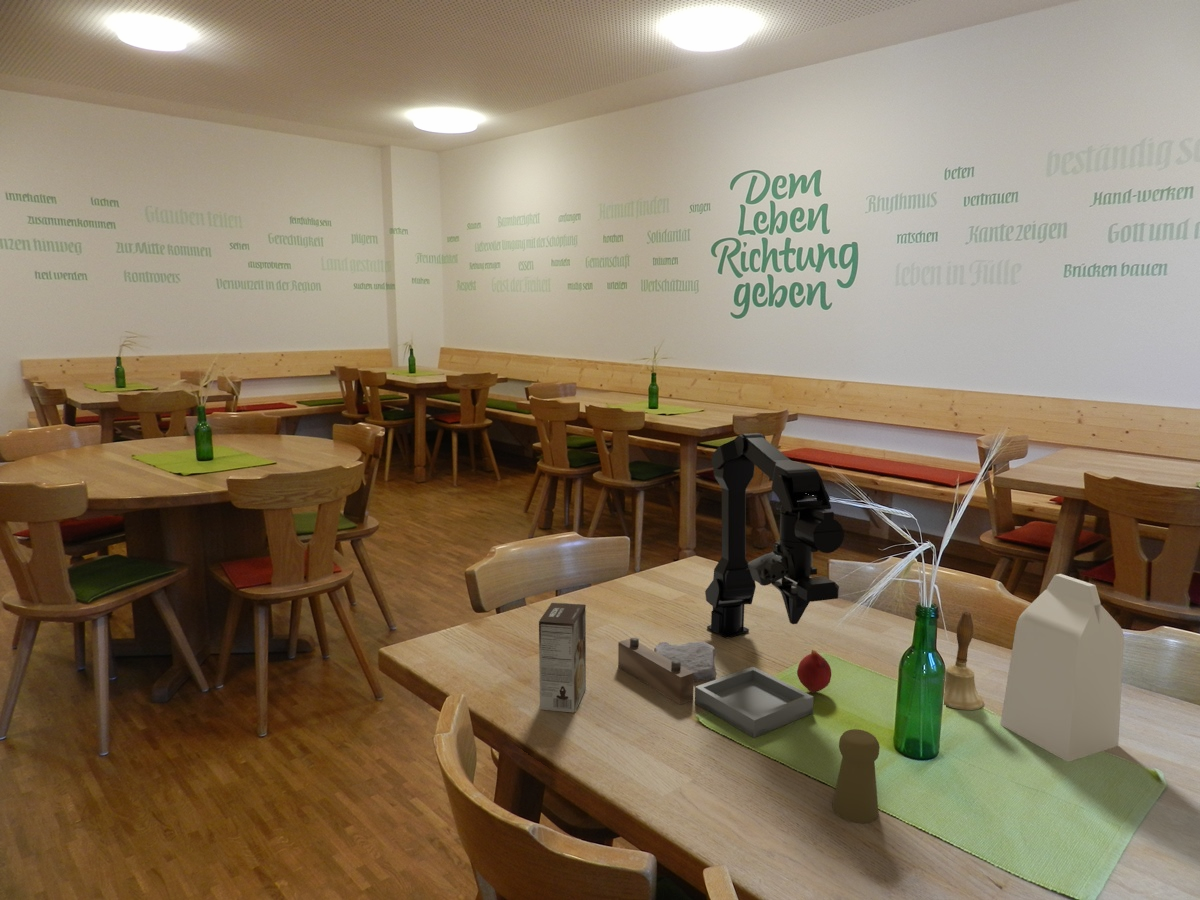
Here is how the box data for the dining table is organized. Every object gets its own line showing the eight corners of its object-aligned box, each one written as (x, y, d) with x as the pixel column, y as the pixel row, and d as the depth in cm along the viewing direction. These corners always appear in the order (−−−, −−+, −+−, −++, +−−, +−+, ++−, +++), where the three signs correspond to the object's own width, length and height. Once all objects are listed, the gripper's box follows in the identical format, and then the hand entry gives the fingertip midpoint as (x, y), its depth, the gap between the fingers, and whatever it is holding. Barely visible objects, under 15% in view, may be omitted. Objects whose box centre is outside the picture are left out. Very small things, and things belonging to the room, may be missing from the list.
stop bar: (630, 662, 154) (631, 632, 153) (693, 699, 140) (693, 666, 139) (618, 666, 153) (618, 635, 151) (679, 704, 138) (680, 670, 137)
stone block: (717, 690, 147) (714, 657, 157) (718, 669, 146) (714, 637, 155) (653, 690, 148) (653, 657, 158) (652, 668, 147) (653, 637, 156)
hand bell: (959, 685, 146) (967, 601, 143) (994, 706, 138) (1003, 618, 135) (921, 691, 143) (928, 606, 140) (955, 713, 135) (963, 624, 133)
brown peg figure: (825, 797, 112) (829, 724, 110) (867, 795, 112) (872, 722, 111) (841, 824, 106) (846, 747, 104) (886, 822, 106) (891, 745, 105)
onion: (831, 687, 144) (833, 645, 143) (829, 702, 139) (831, 659, 138) (798, 682, 146) (800, 641, 145) (794, 697, 141) (796, 654, 139)
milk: (1000, 724, 132) (1014, 573, 127) (1049, 711, 136) (1064, 564, 132) (1067, 761, 121) (1085, 597, 116) (1118, 745, 125) (1138, 587, 121)
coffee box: (551, 685, 145) (551, 601, 142) (586, 688, 144) (586, 603, 141) (538, 710, 136) (538, 620, 133) (575, 713, 135) (575, 623, 132)
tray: (752, 681, 146) (753, 666, 146) (812, 713, 135) (813, 696, 135) (694, 702, 139) (695, 686, 138) (753, 737, 127) (754, 720, 127)
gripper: (730, 529, 147) (729, 611, 150) (783, 556, 130) (780, 648, 132) (784, 525, 151) (781, 605, 153) (842, 550, 133) (839, 640, 135)
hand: (793, 623), depth 143 cm, fingers closed
